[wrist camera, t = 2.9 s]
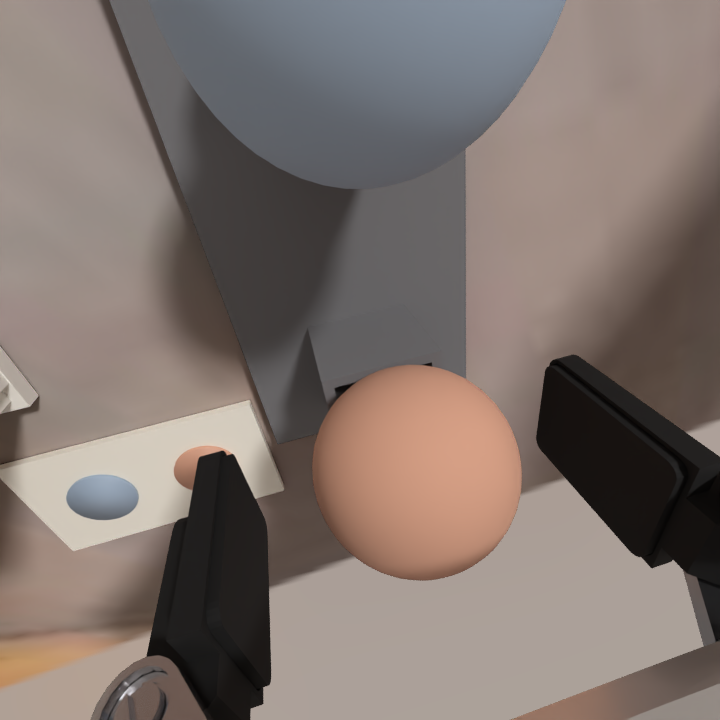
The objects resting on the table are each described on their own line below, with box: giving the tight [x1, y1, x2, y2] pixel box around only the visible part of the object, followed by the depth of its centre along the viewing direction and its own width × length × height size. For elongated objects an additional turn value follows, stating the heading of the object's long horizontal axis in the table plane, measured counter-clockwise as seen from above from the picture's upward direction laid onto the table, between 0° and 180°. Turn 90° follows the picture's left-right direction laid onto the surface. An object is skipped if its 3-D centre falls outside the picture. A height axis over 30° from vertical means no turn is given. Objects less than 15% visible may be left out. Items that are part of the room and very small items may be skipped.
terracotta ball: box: [312, 365, 522, 580], centre depth 10 cm, size 5×5×5 cm
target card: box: [0, 400, 284, 551], centre depth 15 cm, size 9×5×1 cm, turn 99°
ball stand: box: [109, 0, 466, 444], centre depth 10 cm, size 8×15×4 cm, turn 9°
